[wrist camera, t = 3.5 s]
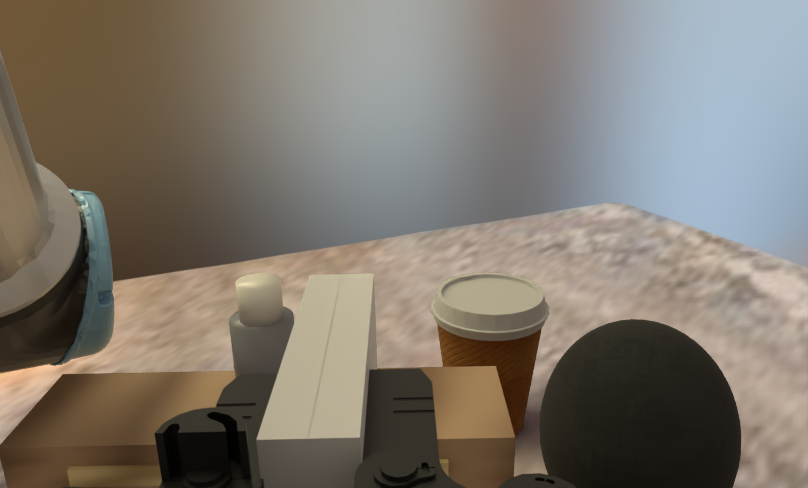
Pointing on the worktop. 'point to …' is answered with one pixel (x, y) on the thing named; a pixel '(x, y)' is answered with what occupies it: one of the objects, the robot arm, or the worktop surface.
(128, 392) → the mount
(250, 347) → the grey bottle
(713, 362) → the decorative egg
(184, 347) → the worktop surface
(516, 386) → the disposable coffee cup
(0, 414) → the worktop surface
